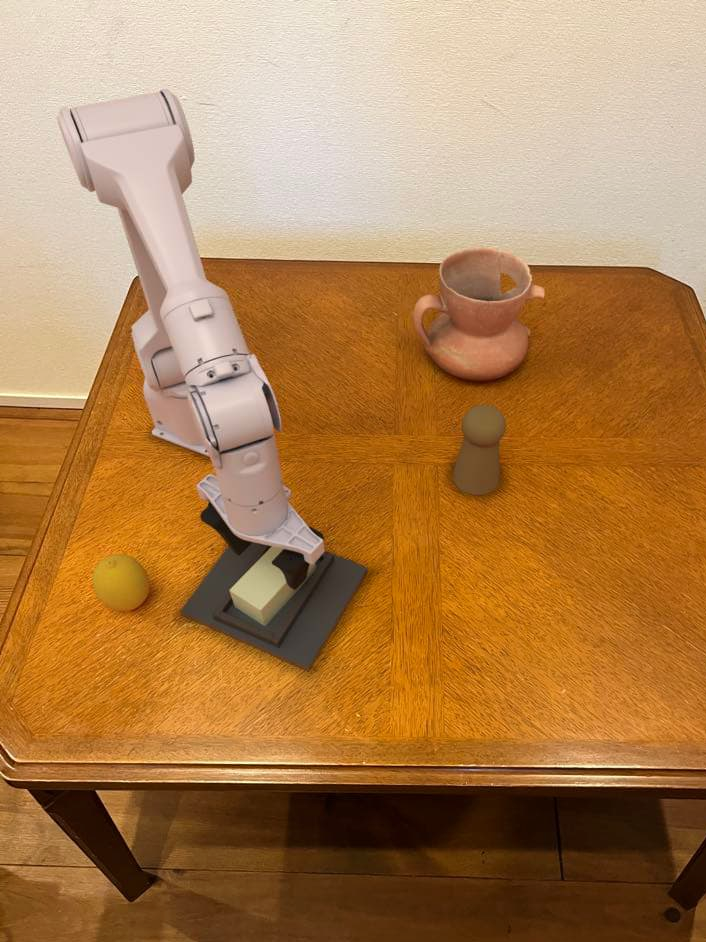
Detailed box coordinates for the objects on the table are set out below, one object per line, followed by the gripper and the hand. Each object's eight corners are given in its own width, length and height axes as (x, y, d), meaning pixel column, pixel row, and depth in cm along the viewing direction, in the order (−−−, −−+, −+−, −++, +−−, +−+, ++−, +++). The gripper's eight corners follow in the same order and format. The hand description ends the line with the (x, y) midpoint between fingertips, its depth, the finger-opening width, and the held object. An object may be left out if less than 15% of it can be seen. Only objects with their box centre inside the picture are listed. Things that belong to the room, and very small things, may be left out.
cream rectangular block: (234, 606, 81) (228, 590, 78) (286, 552, 86) (283, 534, 83) (265, 626, 80) (260, 610, 77) (316, 569, 84) (314, 552, 81)
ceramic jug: (520, 322, 113) (535, 237, 101) (543, 387, 104) (563, 302, 93) (404, 331, 111) (405, 245, 99) (418, 397, 103) (421, 312, 91)
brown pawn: (496, 499, 92) (508, 437, 83) (449, 490, 93) (455, 429, 84) (502, 463, 96) (514, 401, 87) (456, 456, 96) (463, 393, 87)
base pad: (182, 615, 82) (177, 605, 80) (249, 524, 89) (246, 513, 87) (308, 672, 78) (306, 662, 76) (367, 572, 85) (367, 561, 84)
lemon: (110, 583, 84) (87, 542, 77) (159, 580, 84) (140, 539, 78) (102, 625, 81) (77, 586, 74) (154, 622, 81) (134, 583, 75)
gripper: (340, 489, 67) (347, 571, 78) (221, 424, 72) (244, 510, 83) (291, 541, 64) (305, 619, 75) (170, 468, 69) (200, 552, 80)
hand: (270, 565), depth 79 cm, fingers open, 7 cm apart
